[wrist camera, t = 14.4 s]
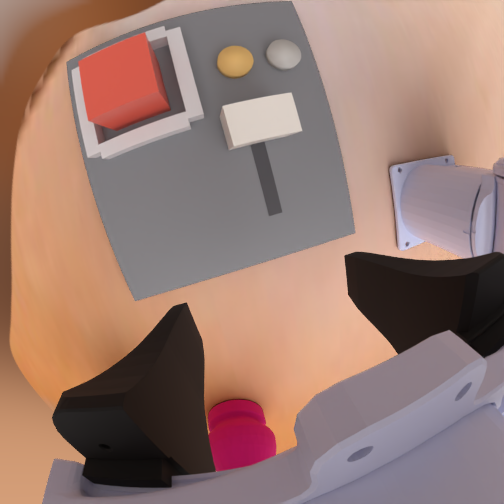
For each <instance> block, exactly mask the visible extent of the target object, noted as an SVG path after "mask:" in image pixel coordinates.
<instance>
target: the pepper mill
mask: <svg viewBox="0 0 504 504" xmlns="http://www.w3.org/2000/svg"><path fill="white" fill-rule="evenodd" d="M265 424H266V421H265V417H264V413H263V410H262V408H261V407H260V406H259V405H258V404H256V403H255V402H252V401H249V400H242V399H241V400H229V401H226V402H222V403H220V404H218V405H216V406H215V407H213V408H212V409H211V411H210V412H209V414H208V425H209V430H210V433H209V441H210V446H211V451H212V456H213V461H214V465H215V469H216V471H224V470H230V469H236V468H241V467H246V466H250V465H253V464H256V463H258V462H261V461H263V460H266V459H268V458H270V457H273V456H275V455H276V440H275V436H274V434H273V432H272V431H271V430H270V429H269V428H268V427H267V426H265Z"/></svg>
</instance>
